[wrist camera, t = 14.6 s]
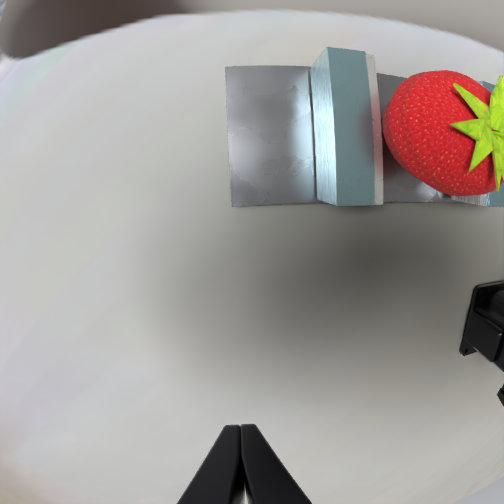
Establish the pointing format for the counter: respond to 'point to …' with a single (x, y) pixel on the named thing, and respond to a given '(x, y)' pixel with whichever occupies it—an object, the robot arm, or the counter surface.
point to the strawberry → (448, 132)
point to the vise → (302, 141)
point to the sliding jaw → (347, 128)
